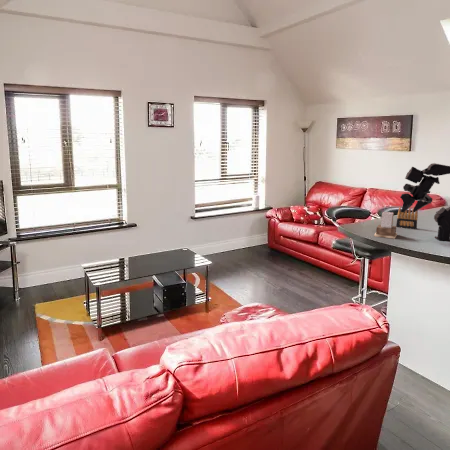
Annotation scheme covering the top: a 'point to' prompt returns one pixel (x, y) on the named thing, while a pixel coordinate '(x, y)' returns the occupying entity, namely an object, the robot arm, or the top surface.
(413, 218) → the ammunition clip
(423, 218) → the top surface
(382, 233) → the socket block
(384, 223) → the metal bar
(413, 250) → the top surface
